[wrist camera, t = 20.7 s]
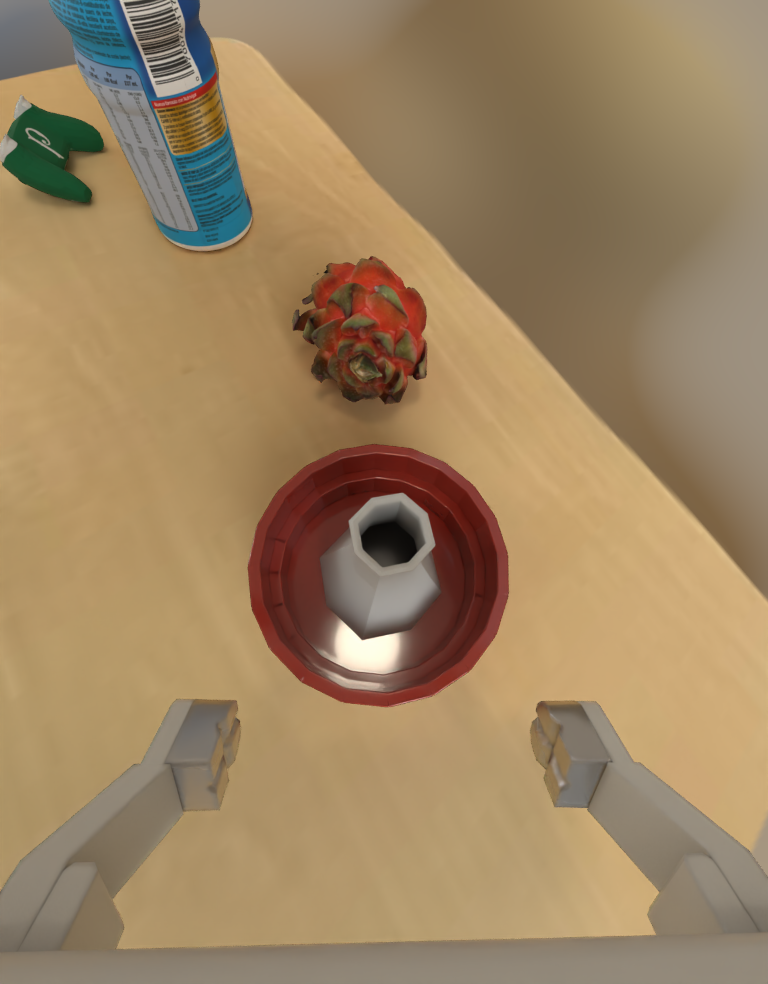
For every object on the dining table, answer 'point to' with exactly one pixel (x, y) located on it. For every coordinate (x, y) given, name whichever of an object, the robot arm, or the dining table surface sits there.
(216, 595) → the dining table surface
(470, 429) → the dining table surface
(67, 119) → the gaming controller
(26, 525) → the dining table surface
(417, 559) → the flask
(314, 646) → the bowl
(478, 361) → the dining table surface
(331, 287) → the dragon fruit
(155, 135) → the beverage bottle
